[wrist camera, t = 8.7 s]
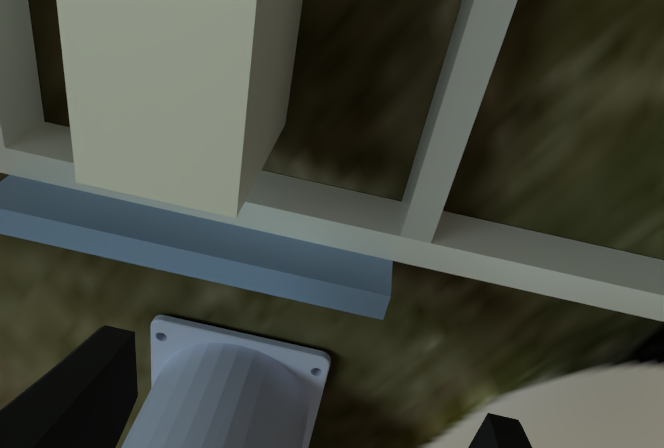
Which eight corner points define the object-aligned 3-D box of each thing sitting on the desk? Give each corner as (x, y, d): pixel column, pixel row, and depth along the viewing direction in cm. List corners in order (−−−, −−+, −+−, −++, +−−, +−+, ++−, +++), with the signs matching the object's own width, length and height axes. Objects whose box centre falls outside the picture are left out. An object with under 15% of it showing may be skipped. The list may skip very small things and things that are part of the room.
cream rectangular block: (285, 123, 18) (236, 218, 13) (169, 97, 18) (76, 182, 13) (326, -168, 13) (274, -195, 8) (172, -202, 13) (29, -248, 8)
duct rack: (781, 334, 20) (855, 426, 16) (25, 164, 20) (-53, 221, 17) (1233, -150, 11) (1568, -162, 8) (-74, -434, 12) (-268, -558, 8)
